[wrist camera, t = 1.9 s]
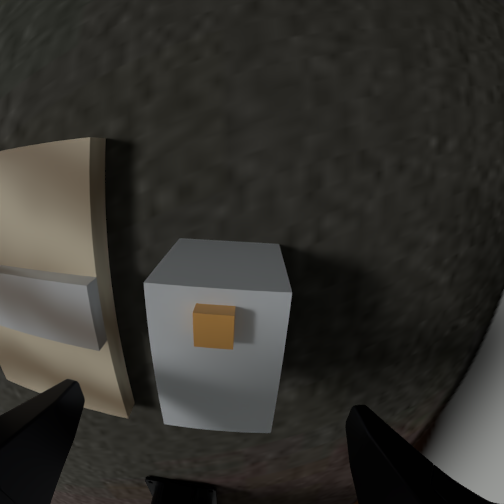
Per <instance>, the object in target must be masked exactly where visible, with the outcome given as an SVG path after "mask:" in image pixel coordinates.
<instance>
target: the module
mask: <svg viewBox="0 0 504 504" xmlns="http://www.w3.org/2000/svg"><path fill="white" fill-rule="evenodd" d="M144 294H145V304H146V314H147V322H148V331H149V339H150V346H151V353H152V360H153V366H154V372H155V378H156V384H157V390H158V395H159V400H160V406H161V411H162V415H163V420H164V424H168V425H174V426H181V427H189V428H198V429H207V430H218V431H231V432H250V433H271V428H272V423H273V417H274V411H275V405H276V400H277V394H278V387H279V381H280V375H281V369H282V362H283V356H284V349H285V342H286V335H287V328H288V321H289V313H290V306H291V298H292V290H291V286H290V282H289V279H288V275H287V271H286V268H285V264H284V260H283V257H282V253H281V250H280V246H279V244H270V243H253V242H237V241H219V240H202V239H184V238H180V239H179V240H178V241H177V242H176V243H175V245H174V246H173V247H172V248H171V249H170V251H169V252H168V253H167V254H166V255H165V257H164V258H163V259H162V260H161V262H160V263H159V264H158V265H157V266H156V268H155V269H154V270H153V271H152V273H151V274H150V275H149V276H148V278H147V279H146V280H145V281H144Z"/></svg>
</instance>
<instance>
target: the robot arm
mask: <svg viewBox="0 0 504 504" xmlns="http://www.w3.org/2000/svg"><path fill="white" fill-rule="evenodd" d="M84 403H85V398H84V395H83V392H82V390H81V387H80V384H79V383H78V381H75V380H72V379H66V380H64V381H62V382H60V383H58V384H57V385H55V386H53V387H51V388H49V389H48V390H46V391H44V392H42V393H40V394H39V395H37V396H35V397H33V398H31V399H30V400H28V401H26V402H24V403H22V404H21V405H19V406H17V407H15V408H13V409H11V410H10V411H8V412H6V413H4V414H2V415H0V504H50V503H51V500H52V497H53V494H54V491H55V488H56V485H57V482H58V480H59V477H60V474H61V471H62V469H63V466H64V463H65V461H66V458H67V456H68V453H69V451H70V448H71V446H72V443H73V440H74V438H75V434H76V431H77V428H78V424H79V420H80V417H81V414H82V410H83V407H84ZM346 435H347V444H348V453H349V462H350V468H351V473H352V477H353V481H354V486H355V490H356V494H357V499H358V503H359V504H497V503H493V502H490V501H488V500H486V499H484V498H482V497H480V496H479V495H477V494H475V493H474V492H472V491H470V490H469V489H467V488H465V487H464V486H462V485H461V484H459V483H458V482H456V481H455V480H453V479H452V478H451V477H449V476H448V475H447V474H445V473H444V472H443V471H441V470H440V469H439V468H438V467H437V466H435V465H433V463H432V462H430V461H429V460H428V459H427V458H426V457H425V456H423V455H422V454H421V453H420V452H419V451H417V450H416V449H415V448H414V447H413V446H412V445H411V444H409V443H408V442H407V441H406V440H405V439H404V438H402V437H401V436H400V435H399V434H398V433H397V432H396V431H394V430H393V429H392V428H391V427H390V426H389V425H388V424H386V423H385V422H384V421H383V420H382V419H381V418H380V417H378V416H377V415H376V414H375V413H374V412H373V411H372V410H371V409H369V408H368V407H367V406H366V405H355V406H353V407H352V408H351V411H350V413H349V416H348V418H347V421H346ZM145 482H146V484H147V486H148V488H149V490H150V492H151V494H152V496H153V498H152V502H151V504H217V492H216V487H214V486H207V485H198V484H191V483H183V482H177V481H171V480H165V479H160V478H154V477H149V476H147V477H146V479H145Z"/></svg>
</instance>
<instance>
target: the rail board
mask: <svg viewBox="0 0 504 504" xmlns="http://www.w3.org/2000/svg"><path fill="white" fill-rule="evenodd" d="M105 144H106V138H93V137H89V138H79V139H71V140H63V141H56V142H49V143H42V144H36V145H30V146H24V147H19V148H14V149H9V150H4V151H0V365H1V367H2V370H3V372H4V374H5V376H6V378H7V380H9V381H12V382H14V383H16V384H19V385H21V386H23V387H26V388H28V389H31V390H34V391H36V392H39V393H42V392H44V391H46V390H48V389H49V388H51V387H53V386H55V385H57V384H58V383H60V382H62V381H64V380H66V379H72V380H75V381H78V383H79V384H80V387H81V390H82V392H83V395H84V398H85V403H84V408H88V409H91V410H95V411H99V412H103V413H107V414H111V415H115V416H119V417H124V418H129V416H130V413H131V411H132V408H133V406H134V403H135V402H134V398H133V394H132V390H131V386H130V382H129V378H128V374H127V369H126V365H125V360H124V356H123V351H122V346H121V341H120V335H119V330H118V324H117V318H116V312H115V305H114V298H113V291H112V283H111V274H110V265H109V254H108V242H107V228H106V207H105Z"/></svg>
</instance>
